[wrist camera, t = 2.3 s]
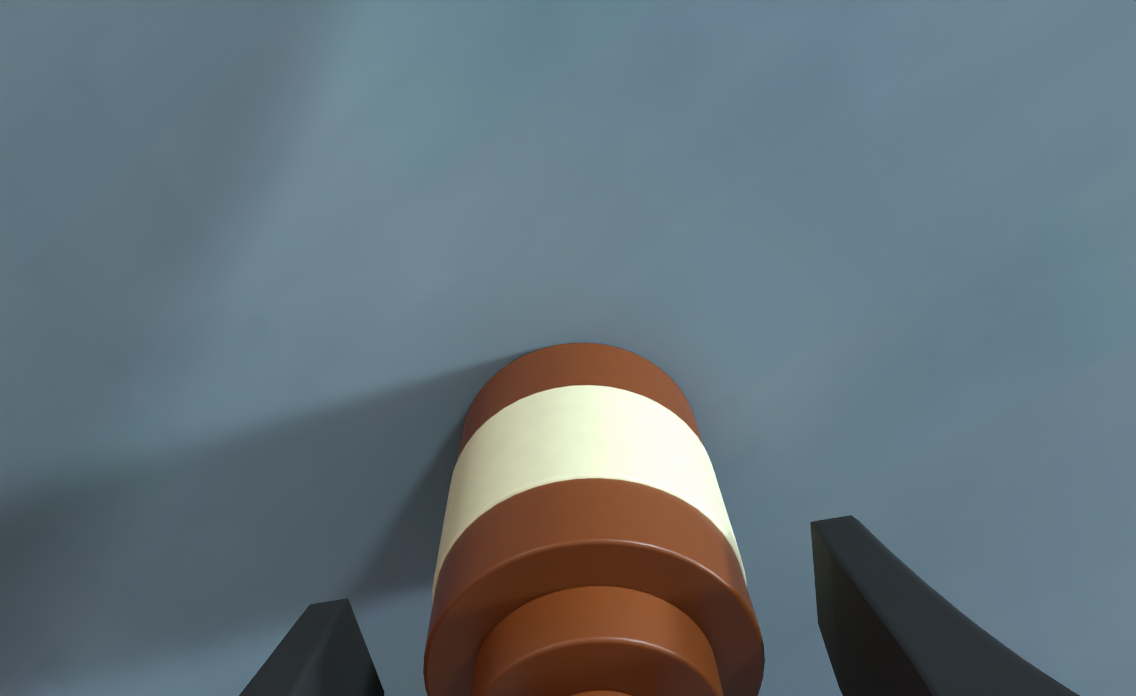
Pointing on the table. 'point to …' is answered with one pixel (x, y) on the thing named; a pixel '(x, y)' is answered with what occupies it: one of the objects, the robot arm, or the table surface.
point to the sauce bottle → (587, 542)
